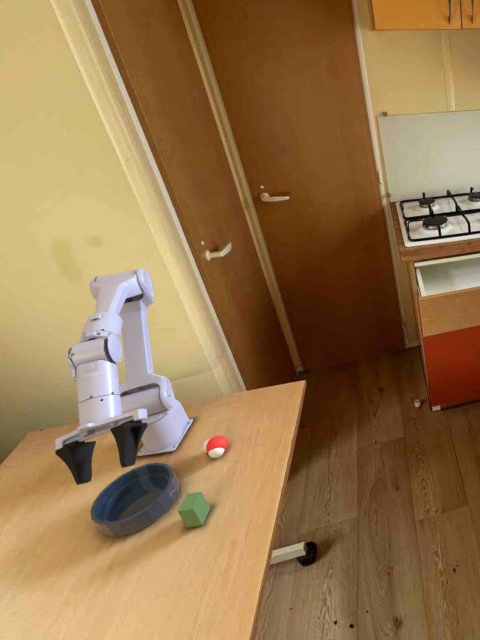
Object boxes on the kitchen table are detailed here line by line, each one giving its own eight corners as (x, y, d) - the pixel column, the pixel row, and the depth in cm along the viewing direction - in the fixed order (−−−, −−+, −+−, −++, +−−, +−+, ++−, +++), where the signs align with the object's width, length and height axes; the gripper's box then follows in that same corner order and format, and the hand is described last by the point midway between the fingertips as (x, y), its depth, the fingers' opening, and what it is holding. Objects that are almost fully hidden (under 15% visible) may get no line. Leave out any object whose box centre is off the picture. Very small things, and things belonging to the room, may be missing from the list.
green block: (195, 510, 87) (186, 493, 85) (210, 507, 88) (201, 491, 85) (187, 527, 84) (177, 511, 82) (202, 525, 85) (193, 508, 82)
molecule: (233, 443, 102) (228, 431, 100) (222, 461, 97) (216, 448, 95) (212, 444, 101) (206, 432, 99) (200, 462, 97) (193, 449, 95)
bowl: (126, 481, 93) (117, 468, 91) (192, 471, 95) (185, 458, 93) (84, 544, 81) (72, 530, 79) (160, 531, 83) (151, 517, 81)
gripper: (36, 416, 75) (39, 496, 71) (121, 385, 76) (129, 462, 73) (74, 413, 81) (80, 487, 78) (152, 385, 83) (161, 456, 79)
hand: (106, 474), depth 76 cm, fingers open, 7 cm apart
